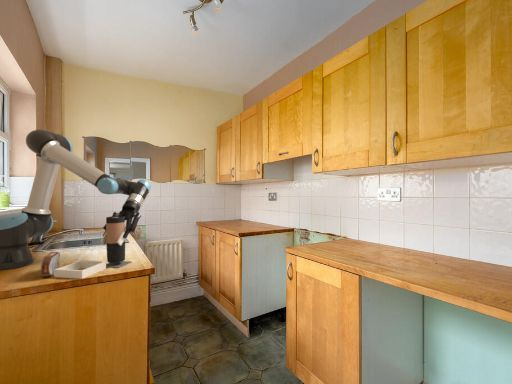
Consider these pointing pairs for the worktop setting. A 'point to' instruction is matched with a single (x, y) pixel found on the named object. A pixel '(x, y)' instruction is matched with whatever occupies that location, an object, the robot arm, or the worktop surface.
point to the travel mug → (115, 239)
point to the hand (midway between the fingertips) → (110, 243)
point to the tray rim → (72, 271)
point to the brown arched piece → (50, 264)
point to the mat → (117, 264)
